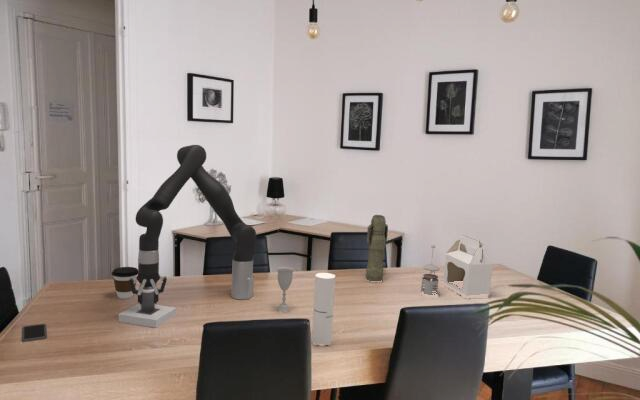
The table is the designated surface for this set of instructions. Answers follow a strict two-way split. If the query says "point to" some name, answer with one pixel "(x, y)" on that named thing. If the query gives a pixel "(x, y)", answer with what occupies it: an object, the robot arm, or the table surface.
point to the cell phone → (34, 332)
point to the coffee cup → (124, 281)
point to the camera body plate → (147, 316)
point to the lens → (148, 299)
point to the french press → (427, 282)
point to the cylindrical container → (323, 308)
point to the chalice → (284, 284)
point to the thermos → (376, 247)
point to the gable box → (468, 267)
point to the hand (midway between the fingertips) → (148, 303)
